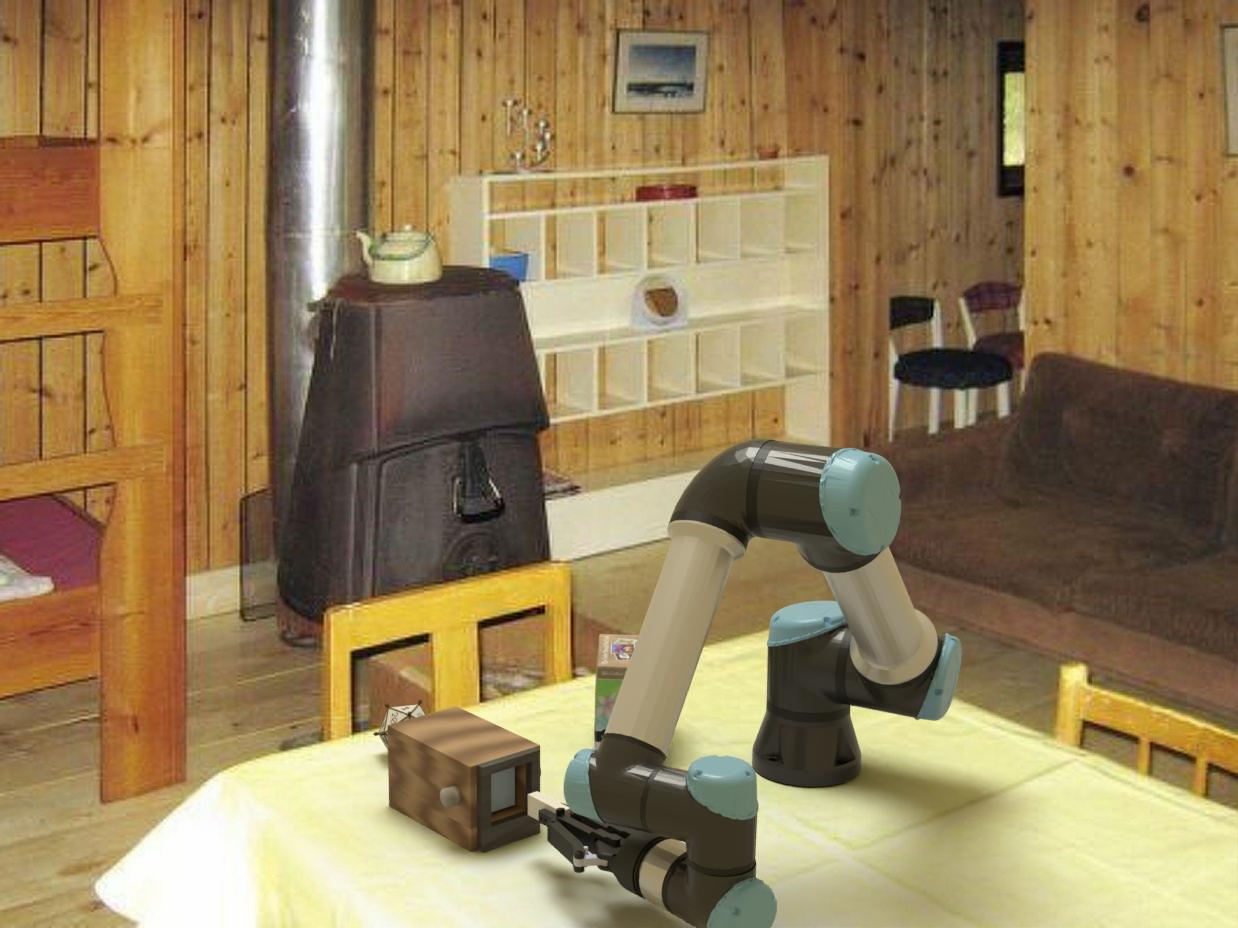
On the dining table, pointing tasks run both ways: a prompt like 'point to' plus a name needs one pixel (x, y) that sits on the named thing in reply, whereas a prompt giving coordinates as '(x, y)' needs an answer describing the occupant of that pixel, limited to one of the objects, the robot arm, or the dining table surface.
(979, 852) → the dining table surface
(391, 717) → the game die
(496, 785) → the peg
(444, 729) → the wooden peg box
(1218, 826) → the dining table surface
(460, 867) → the dining table surface
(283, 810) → the dining table surface
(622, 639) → the tea box
